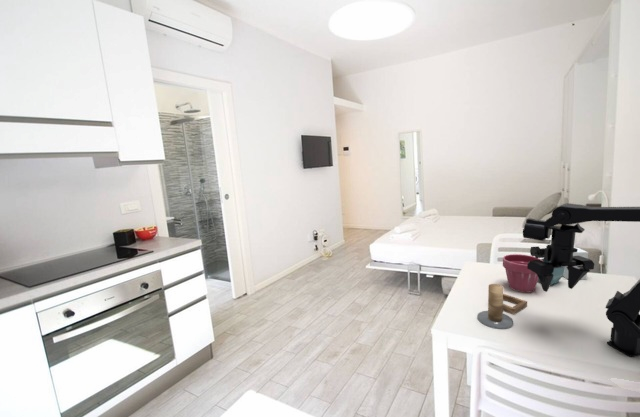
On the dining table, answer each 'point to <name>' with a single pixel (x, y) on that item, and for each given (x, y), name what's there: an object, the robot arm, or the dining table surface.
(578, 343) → the dining table surface
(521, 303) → the pocket frame
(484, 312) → the slate coaster
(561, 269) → the flower pot
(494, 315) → the oak post
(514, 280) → the plant pot
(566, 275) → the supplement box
